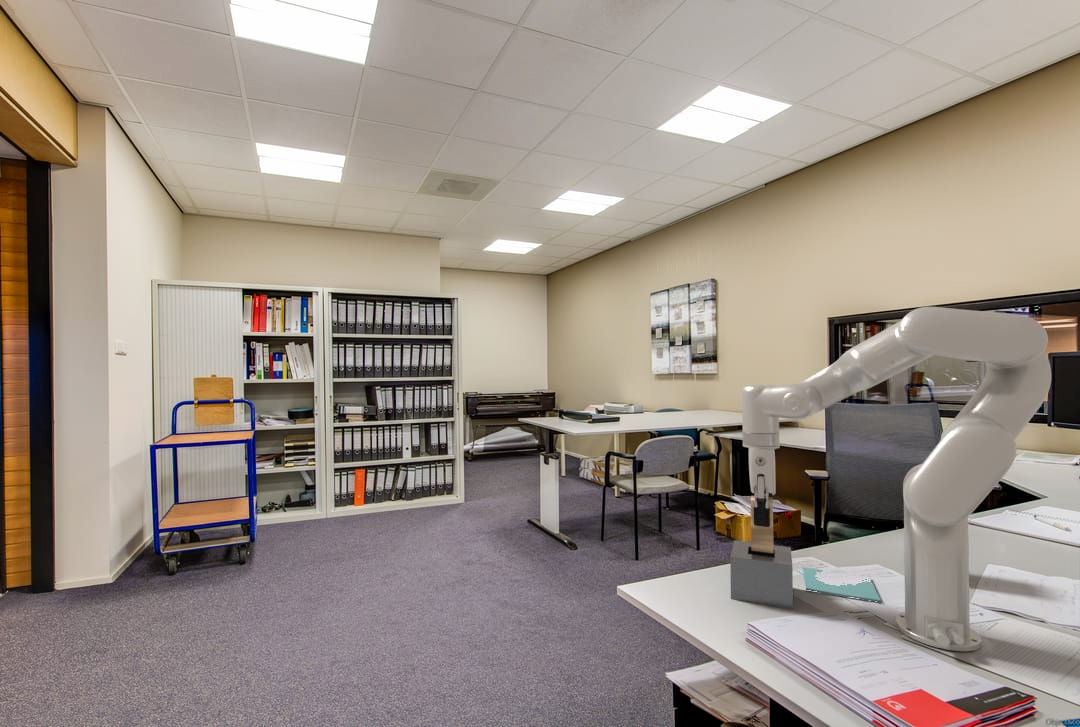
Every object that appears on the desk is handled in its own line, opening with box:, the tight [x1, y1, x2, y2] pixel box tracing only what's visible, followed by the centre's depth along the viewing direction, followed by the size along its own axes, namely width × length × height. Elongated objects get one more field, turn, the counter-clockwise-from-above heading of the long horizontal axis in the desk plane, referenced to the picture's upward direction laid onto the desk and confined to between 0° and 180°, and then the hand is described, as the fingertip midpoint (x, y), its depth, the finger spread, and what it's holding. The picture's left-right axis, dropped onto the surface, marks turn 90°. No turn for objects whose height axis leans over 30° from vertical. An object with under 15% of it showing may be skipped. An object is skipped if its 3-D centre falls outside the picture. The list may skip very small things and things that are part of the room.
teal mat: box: [802, 566, 882, 603], centre depth 117 cm, size 14×14×1 cm
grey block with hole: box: [729, 539, 794, 610], centre depth 113 cm, size 12×12×9 cm
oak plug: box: [750, 495, 775, 553], centre depth 113 cm, size 4×4×11 cm
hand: (762, 522), depth 113 cm, fingers closed on oak plug, 4 cm apart
